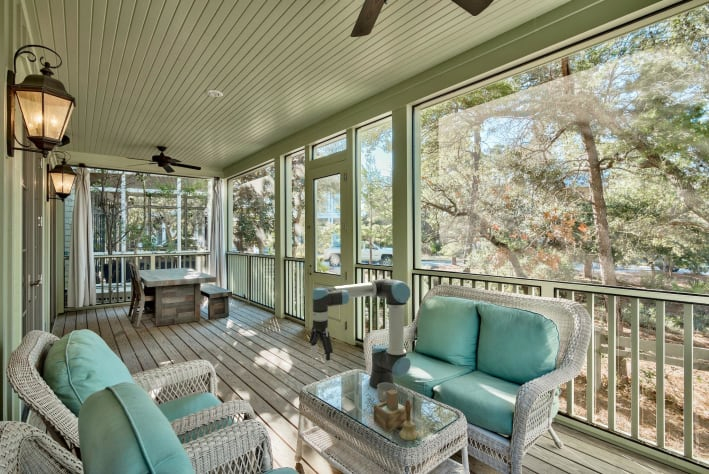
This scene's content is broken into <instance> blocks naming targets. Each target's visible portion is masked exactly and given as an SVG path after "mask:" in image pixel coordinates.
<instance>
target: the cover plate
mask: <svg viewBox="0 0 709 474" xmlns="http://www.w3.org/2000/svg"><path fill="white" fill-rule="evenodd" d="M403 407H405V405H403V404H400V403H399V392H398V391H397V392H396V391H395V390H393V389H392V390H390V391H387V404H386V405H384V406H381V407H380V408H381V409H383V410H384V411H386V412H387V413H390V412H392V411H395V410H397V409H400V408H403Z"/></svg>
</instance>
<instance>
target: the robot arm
mask: <svg viewBox="0 0 709 474" xmlns="http://www.w3.org/2000/svg"><path fill="white" fill-rule="evenodd" d="M311 296H312V297H311V299H312V326H311V333H310V337H309V341H308V343H309V344H310V345H311V359H318V345H317V344H318V341H320V342H321V344H322V347H323V350H324V353H323V354H324V356H323V357H324V360H323V361H324V364H323V367H324V368H328V367H331V354H332V353H334V351H333V346H332V342H331V337H330V331H326V329H327V328H328V327H329V320H328V319H329V307H338V306H343V305H346V304H348V303H349V301H350V299H352V298H353V299H354V298H360V297H361V298H362V297H371V298H376V297H377V298H383V299H385V304H386V306H388V344H378V345H375V346H373V347H372V349H371V373H370V377H369V380H368V385H369V386H370V387H372V388H374V389H377V385H378V384H379V383H384V382H387V383H392V384H394V383H395V380H394V377H393V376H396V377H398V378H399V377H405V376H406V375H407V374H408V372H409V370H410V369H411V364H412V363H411V360H410V358H409V357H407V350H406V349H405V347H404V346H405V343H404V338H405V336H404V335H405V332H404V321H405V320H404V318H405V317H404V315H405V313H404V310H405V308H404V307H405V306H406V305H407V302H408V301H409V299H410V297H411V289H410V286H409V285H408V284H407V282H404V281H402V280H396V279H390V278H382V279H381V278H380V279H376V280H375V279H374V280H369V281H368V282H364V283H355V284H344V285H336V286H318V287H317V288H314V289H312V295H311ZM394 385H395V384H394Z"/></svg>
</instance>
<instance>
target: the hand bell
mask: <svg viewBox="0 0 709 474" xmlns="http://www.w3.org/2000/svg"><path fill="white" fill-rule="evenodd" d="M404 407H405V410H406V414H407V416H406V419H407V421H405V422H404V424H403V426H402V429H401V430H400V431H399V432H398V433H399V436H400V438H401V439H403V440H404V441H413V440H416V439H417V438H418V433H417V431H416V430H415V427H414V423H413V421H410V413H411V412H412V411H411V409H412V405H411V402H410V400H409V399H406V400H405V405H404Z"/></svg>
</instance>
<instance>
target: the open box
mask: <svg viewBox="0 0 709 474" xmlns="http://www.w3.org/2000/svg"><path fill="white" fill-rule="evenodd" d="M386 404H387V401H385V402H380V403H377V404H374V405H373V422H375V423H376V424H377V425H379V426H380V427H381V428H383V430H385V431H387V432H391V431H393V430H396V429H398V428H401V427H403V424H404V422H405V421H407V419H406V416H407V414H406V410H405V406H404V407H403V408H400V409H397V410H395V411H392V412H390V413H387V412H386V411H384V410H383V409H381V408H380V407H381V406H384V405H386ZM411 414H412V413H411V412H410V421H411ZM411 422H412V421H411Z"/></svg>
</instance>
